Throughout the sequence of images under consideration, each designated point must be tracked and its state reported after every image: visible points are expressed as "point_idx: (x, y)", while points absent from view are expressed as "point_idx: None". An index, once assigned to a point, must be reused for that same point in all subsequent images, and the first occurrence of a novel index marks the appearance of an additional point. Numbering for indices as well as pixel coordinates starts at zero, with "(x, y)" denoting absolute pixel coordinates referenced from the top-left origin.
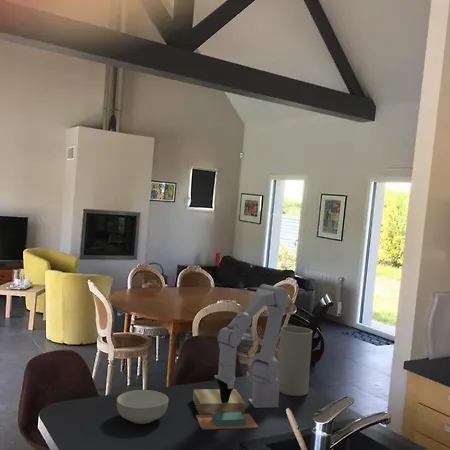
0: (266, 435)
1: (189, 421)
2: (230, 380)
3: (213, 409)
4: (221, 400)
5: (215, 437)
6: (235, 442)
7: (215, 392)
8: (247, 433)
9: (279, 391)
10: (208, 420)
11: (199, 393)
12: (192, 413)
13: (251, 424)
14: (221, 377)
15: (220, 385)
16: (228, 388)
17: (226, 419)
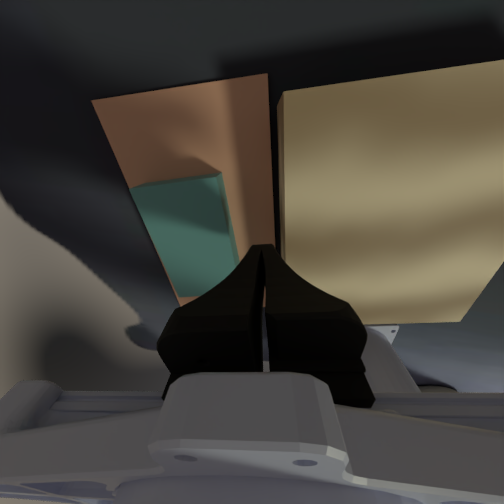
0: (140, 315)
1: (180, 13)
2: (64, 497)
3: (281, 189)
4: (254, 248)
5: (46, 166)
6: (48, 234)
7: (464, 230)
8: (134, 277)
9: (422, 388)
10: (201, 151)
11: None
12: (307, 50)
13: (195, 298)
14: (129, 489)
15: (166, 326)
16: (17, 384)
17: (153, 234)
